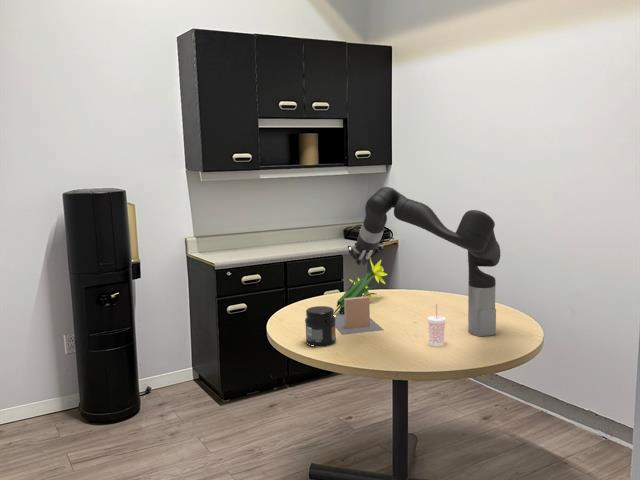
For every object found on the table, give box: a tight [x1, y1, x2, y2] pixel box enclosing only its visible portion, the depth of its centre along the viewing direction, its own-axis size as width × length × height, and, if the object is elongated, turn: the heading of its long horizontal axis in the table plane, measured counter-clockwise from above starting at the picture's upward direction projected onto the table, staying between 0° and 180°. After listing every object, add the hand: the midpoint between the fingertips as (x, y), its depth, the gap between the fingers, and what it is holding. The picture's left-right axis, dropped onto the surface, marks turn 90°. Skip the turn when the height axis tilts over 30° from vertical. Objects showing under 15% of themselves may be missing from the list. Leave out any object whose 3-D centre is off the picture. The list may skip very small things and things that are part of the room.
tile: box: [343, 296, 371, 329], centre depth 220 cm, size 2×9×11 cm, turn 104°
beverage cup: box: [427, 303, 447, 347], centre depth 199 cm, size 6×6×14 cm
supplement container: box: [304, 305, 337, 347], centre depth 205 cm, size 10×10×12 cm
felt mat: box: [334, 312, 385, 336], centre depth 227 cm, size 26×16×1 cm, turn 14°
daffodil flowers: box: [334, 258, 388, 314], centre depth 251 cm, size 17×15×35 cm
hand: (360, 262), depth 211 cm, fingers closed
